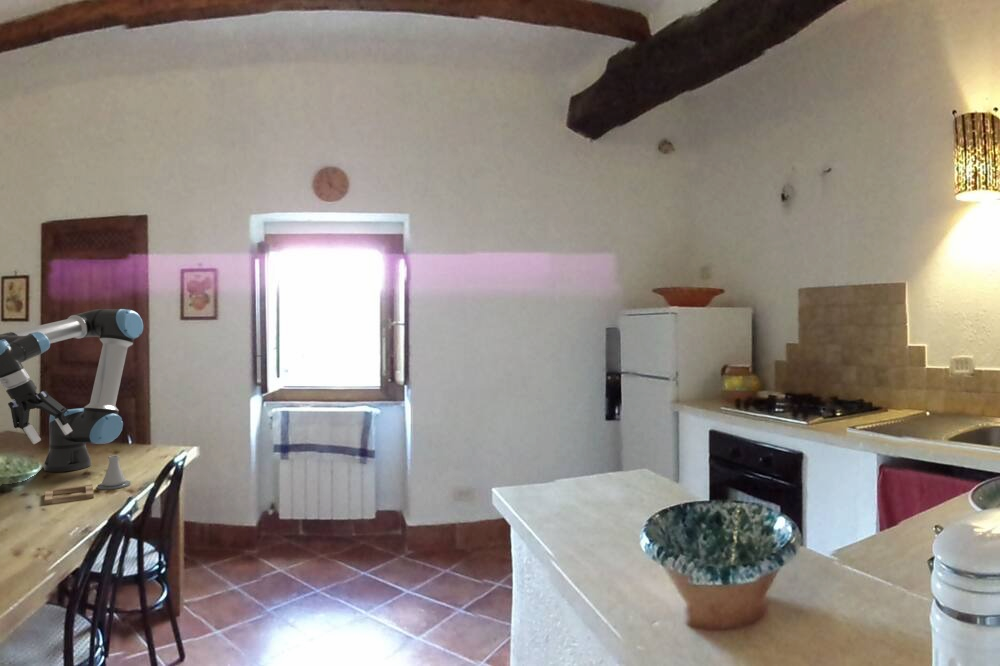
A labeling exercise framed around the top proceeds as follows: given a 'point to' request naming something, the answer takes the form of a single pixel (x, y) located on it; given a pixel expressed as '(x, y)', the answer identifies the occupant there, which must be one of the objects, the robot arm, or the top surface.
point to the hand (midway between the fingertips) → (53, 437)
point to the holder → (51, 500)
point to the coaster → (113, 486)
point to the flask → (113, 473)
